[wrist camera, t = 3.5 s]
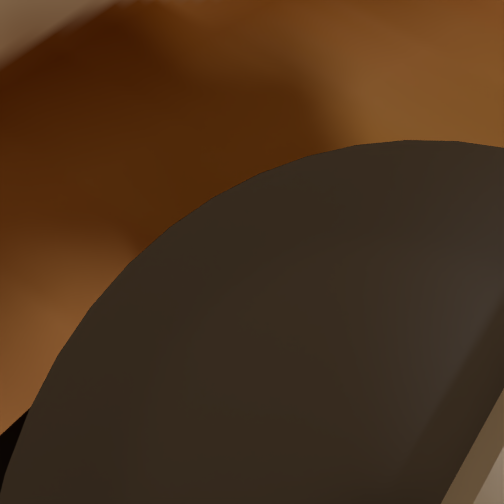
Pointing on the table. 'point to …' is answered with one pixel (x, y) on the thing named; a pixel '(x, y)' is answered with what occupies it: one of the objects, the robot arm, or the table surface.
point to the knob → (294, 346)
